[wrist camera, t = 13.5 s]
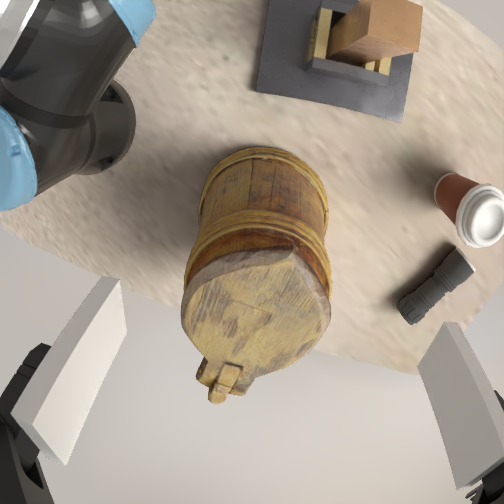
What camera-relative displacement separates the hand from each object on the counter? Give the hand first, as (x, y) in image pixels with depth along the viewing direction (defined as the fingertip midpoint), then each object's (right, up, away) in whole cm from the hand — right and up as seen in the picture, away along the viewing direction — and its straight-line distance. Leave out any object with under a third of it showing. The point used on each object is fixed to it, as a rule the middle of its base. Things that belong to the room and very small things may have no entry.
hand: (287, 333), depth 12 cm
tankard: (0, +7, +36) cm, 37 cm away
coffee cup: (+30, +13, +31) cm, 45 cm away
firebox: (+10, +30, +23) cm, 39 cm away
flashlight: (+31, -1, +39) cm, 49 cm away
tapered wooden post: (+10, +29, +22) cm, 38 cm away
